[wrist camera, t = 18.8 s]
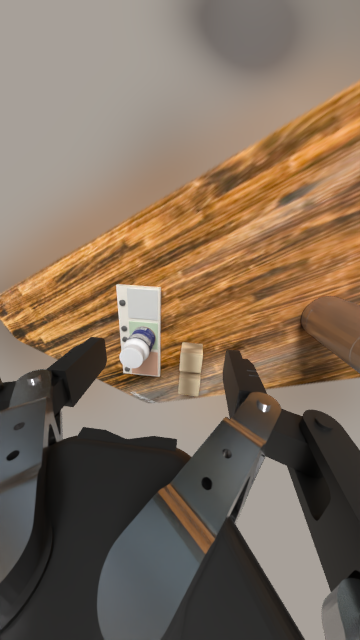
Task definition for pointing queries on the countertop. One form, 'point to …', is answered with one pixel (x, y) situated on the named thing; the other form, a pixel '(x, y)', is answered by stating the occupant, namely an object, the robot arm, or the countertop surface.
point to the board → (141, 321)
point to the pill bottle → (137, 347)
